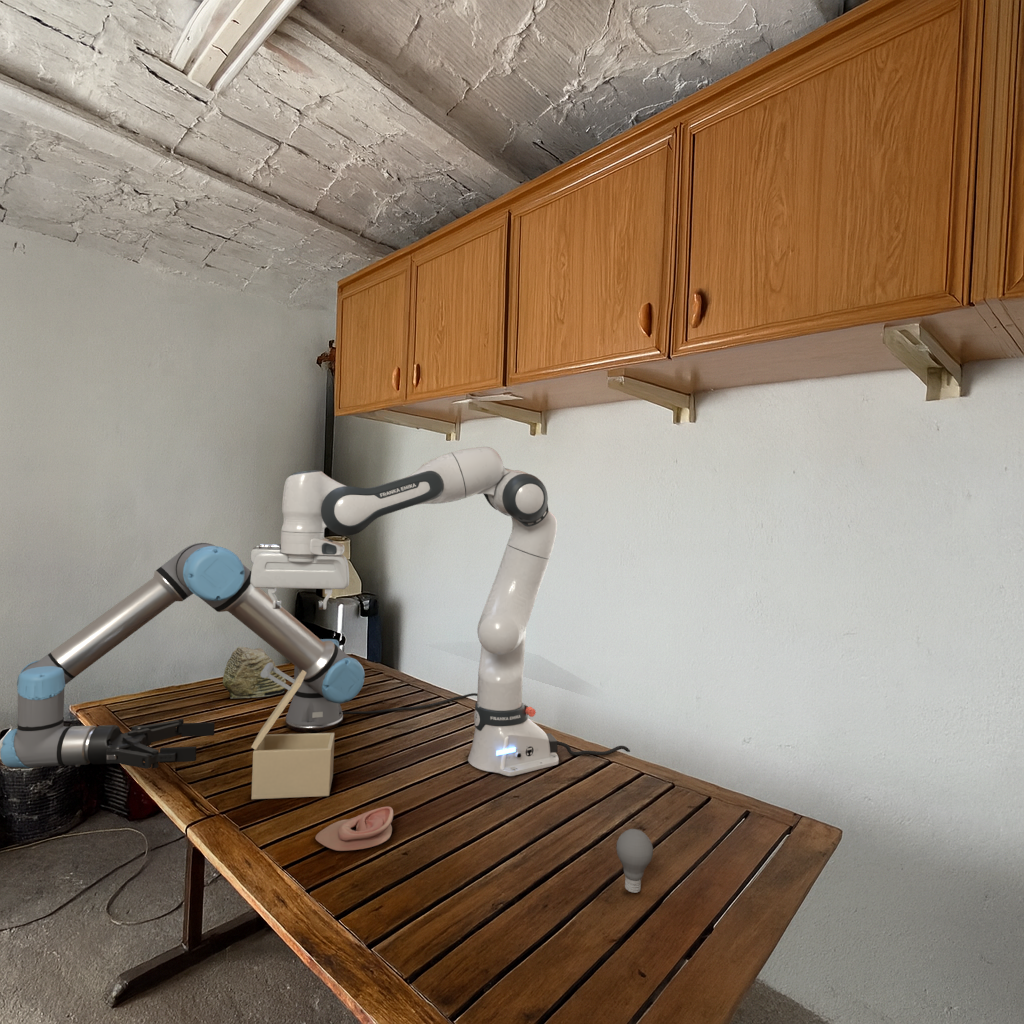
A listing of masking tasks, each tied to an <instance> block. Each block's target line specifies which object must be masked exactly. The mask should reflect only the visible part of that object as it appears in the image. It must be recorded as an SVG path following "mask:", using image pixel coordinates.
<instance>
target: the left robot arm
mask: <svg viewBox="0 0 1024 1024" xmlns="http://www.w3.org/2000/svg"><path fill="white" fill-rule="evenodd" d="M251 572H252V570H250V569H249V568H248V567H247V566H246V565H244V564H243V562H242V560H241V559H240V558H239V556H238V555H237V554H236V553H235V552H233V551H231V550H230V549H228V548H226V547H223V546H218V545H214V544H212V543H207V542H197V543H193V544H191V545H188V546H187V547H185V548H183V549H182V550H180V551H179V552H178V553H177V554H175V555H174V556H173V557H171V558H170V559H169V560H167V561H166V562H165V563H164V564H162V565H161V566H160V567H158V568H157V569H155V570H154V572H153V576H152V578H150V579H149V580H148V581H146V582H145V583H144V584H142V585H140V587H138V588H137V589H135V590H134V591H133V592H131V593H130V594H129V595H127V596H126V597H124V598H123V599H122V600H120V601H119V602H118V603H116V604H115V605H113V606H112V607H110V609H108V610H107V611H105V612H104V613H103V614H101V615H99V616H98V617H97V618H96V619H94V620H93V621H92V622H90V623H89V624H88V625H86V626H84V627H83V628H82V629H81V630H79V631H78V632H76V633H75V634H74V635H72V636H71V637H69V638H68V639H66V640H65V641H64V642H62V643H61V644H60V645H58V646H57V647H56V648H54V649H53V650H51V651H50V652H49V653H48V654H46V655H44V656H43V657H42V658H40V659H37V660H34V661H32V662H29V663H28V664H26V665H25V666H24V667H23V668H22V669H21V671H20V673H19V675H18V677H17V680H16V686H17V691H16V692H17V727H16V728H13V729H11V730H9V731H8V732H7V733H6V734H5V736H4V738H3V740H2V741H1V744H2V745H1V748H0V760H1V763H2V764H3V765H4V766H5V767H8V768H26V769H34V768H44V767H45V768H46V767H60V766H62V767H64V766H65V767H67V766H74V767H75V768H80V767H81V766H84V765H85V766H86V765H89V764H91V765H111V764H116V765H117V764H118V765H124V766H130V767H134V768H139V769H145V770H146V769H147V770H148V769H157V768H159V763H160V764H165V763H185V762H186V763H187V762H196V761H197V746H196V745H195V746H175V747H174V746H173V747H172V746H171V747H160V749H157V748H153V747H151V744H152V743H156V742H159V741H162V740H163V741H164V740H166V739H171V738H174V737H178V736H181V737H182V738H183V737H184V738H185V737H187V738H188V737H209V736H212V737H213V736H214V735H215V725H216V724H215V721H212V722H184V718H179V719H175V720H170V721H169V720H168V721H164V722H158V723H151V724H146V725H134V726H132V727H131V730H130V731H128V732H122V731H121V728H120V727H119V726H118V725H116V724H107V725H98V726H96V725H75V726H73V725H72V726H65V725H64V721H65V717H64V710H65V688H66V685H68V683H70V682H71V681H73V680H74V679H76V677H77V676H79V675H80V674H81V673H82V672H84V671H85V670H86V669H88V668H89V667H91V666H92V665H93V664H95V663H96V662H98V661H99V660H100V659H101V658H103V657H104V656H105V655H107V654H108V653H109V652H111V651H112V650H113V649H114V648H116V647H117V646H119V645H120V644H121V643H122V642H124V641H125V640H127V639H128V638H129V637H131V635H133V634H134V633H135V632H137V631H138V630H140V629H141V628H142V627H144V626H145V625H146V624H148V623H149V622H150V621H151V620H153V619H154V618H156V617H157V616H158V615H159V614H161V613H162V612H164V611H165V610H166V609H167V608H169V607H170V606H171V605H173V604H174V603H175V602H184V601H185V600H187V599H188V598H190V597H191V596H192V595H195V596H196V597H197V598H199V599H200V600H202V601H203V602H204V603H205V604H206V605H208V606H210V607H211V608H212V609H213V610H214V611H216V612H217V613H223V612H224V613H225V612H228V613H229V614H231V616H233V617H234V618H235V619H237V620H238V621H239V622H240V623H242V624H243V625H244V626H245V627H247V628H248V629H249V630H250V631H252V632H253V633H254V634H255V635H257V636H258V637H259V638H260V639H262V640H263V641H264V642H265V643H266V644H268V645H269V646H270V647H272V649H274V650H275V651H276V652H278V653H279V654H280V655H281V656H283V657H284V658H285V659H286V660H287V661H289V663H291V664H292V665H294V672H293V679H295V680H296V678H297V677H298V676H299V674H300V673H301V671H302V670H304V671H305V672H307V673H306V675H305V677H304V680H303V682H302V684H301V686H300V687H299V689H298V690H297V692H296V693H295V694H294V696H293V697H292V699H291V702H290V704H289V708H288V711H287V713H286V715H285V726H286V728H287V729H289V730H291V731H294V732H295V731H296V732H301V733H319V732H325V731H329V730H332V729H335V728H337V727H339V726H340V725H342V723H343V722H344V715H372V714H373V715H374V714H382V713H389V712H397V711H410V710H420V709H426V708H431V707H434V706H438V705H443V704H445V703H449V702H452V701H455V700H460V699H465V698H468V697H477V693H478V692H477V693H476V692H473V693H467V694H463V695H457V696H453V697H450V698H448V699H444V700H441V701H437V702H433V703H428V704H423V705H416V706H405V707H392V708H386V709H378V710H369V711H364V710H363V711H361V710H360V711H357V710H353V711H352V710H351V711H343V709H342V706H341V704H344V703H347V702H350V701H351V700H353V699H355V698H356V696H358V694H359V693H360V691H361V690H362V688H363V686H364V683H365V675H366V674H365V669H364V667H363V665H362V664H361V663H360V662H359V660H358V659H356V658H354V657H351V656H350V655H349V654H347V653H346V652H345V651H344V650H343V649H342V648H341V646H340V642H339V640H338V639H334V638H323V639H322V638H319V637H318V636H317V635H315V634H314V632H312V631H311V630H310V629H309V628H307V627H306V626H305V625H304V624H303V623H302V622H301V621H300V620H298V619H297V618H296V617H295V616H293V614H291V613H290V612H289V611H287V609H285V608H284V607H283V606H282V605H281V608H280V609H273V601H272V599H271V598H270V596H269V594H268V592H265V591H264V590H263V588H254V587H253V586H252V585H251V583H250V580H251Z"/></svg>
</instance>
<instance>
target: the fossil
mask: <svg viewBox="0 0 1024 1024" xmlns="http://www.w3.org/2000/svg"><path fill="white" fill-rule="evenodd" d="M267 663H273V664H274V667H275V668H277V669H278V670H280V669H279V668H278V667H277V665H276V663H275V662H274V660H273V659H272V658H271V657H270V656H269V655H268V654H267V653H266V652H265V650H264V649H263V648H260V647H258V648H251V647H247V646H246V647H245V646H238V647H237V648H236V649H235V650H233V651H232V653H231V656H230V657H229V659H228V660H227V663H226V666H225V668H224V671H223V675H222V676H223V677H222V685H223V687H224V688H225V690H226V691H228V693H229V698H230V699H250V698H264V697H271V696H275V695H281V694H284V693H285V691H286V690H287V689H286V688H284V687H282V686H281V685H279V684H277V683H276V682H274V681H272V680H271V679H269V678H267V677H266V678H262V677H261V675H260V674H261V672H262V670H263V669H264V667H265V666H266V665H267ZM270 674H271V675H272V676H274V677H276V678H277V679H279V680H281V681H282V682H284V683H286V684H287V679H285V678H283V677H282V676H280V675H278V674H277V673H275V672H274V671H271V672H270Z"/></svg>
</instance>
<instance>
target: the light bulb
mask: <svg viewBox="0 0 1024 1024" xmlns="http://www.w3.org/2000/svg"><path fill="white" fill-rule="evenodd" d="M615 849H616V854H617V857H618V859H619V861H620V863H621V865H622V867H623V873H624V874H623V875H624V876H625V878H624V888H625V890H627V891H628V892H630V893H634V894H635V893H639V892H640V891H641V889H642V887H641V886H642V879H643V877H644V875H645V871H646V868H647V867H648V866H649V864H650V863H651V861H652V859H653V855H654V847H653V843H652V841H651V838H649V836H648V835H647V834H646V833H645V832H643V831H642V830H641V829H636V828H629V829H627V830H625V831H623V832H622V833H621V834H620V835H619V837H618V839H617V841H616V847H615Z"/></svg>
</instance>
